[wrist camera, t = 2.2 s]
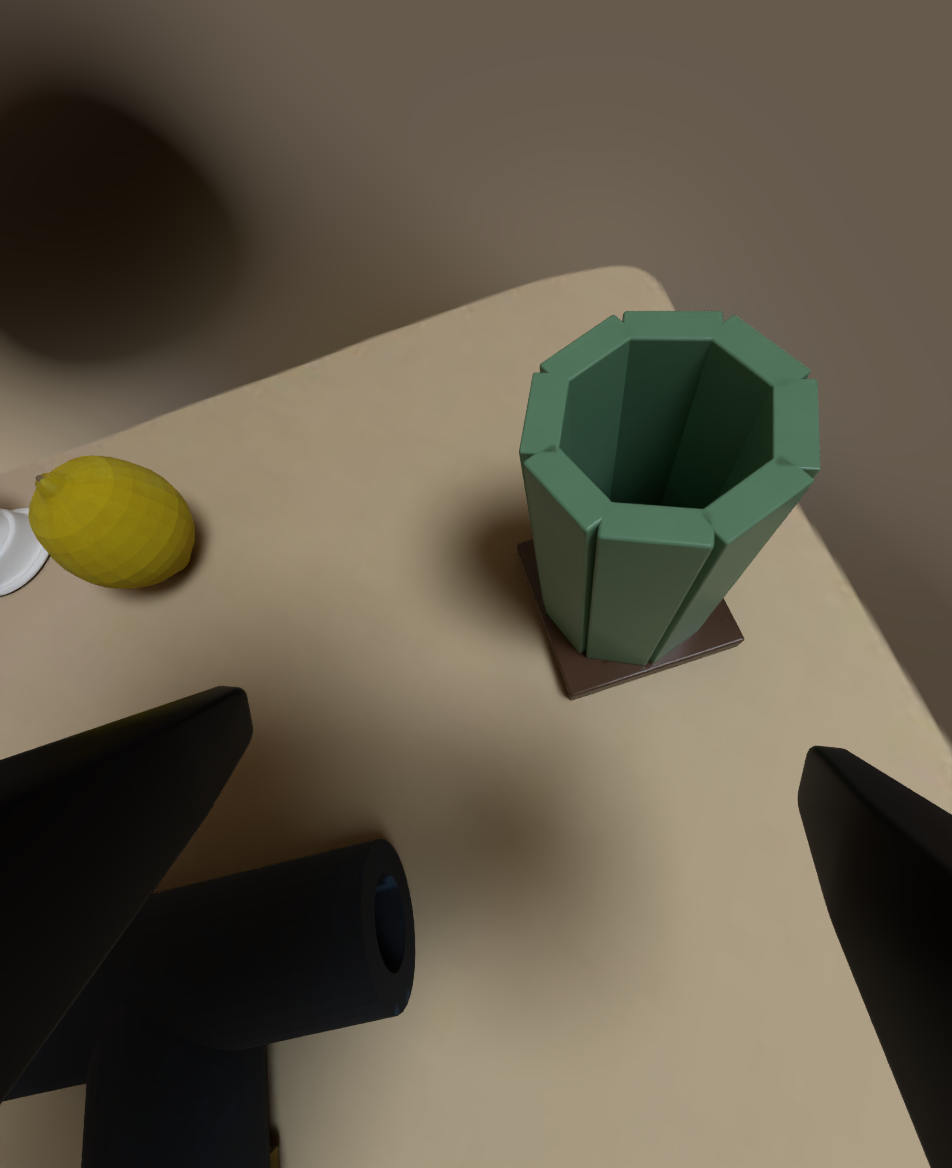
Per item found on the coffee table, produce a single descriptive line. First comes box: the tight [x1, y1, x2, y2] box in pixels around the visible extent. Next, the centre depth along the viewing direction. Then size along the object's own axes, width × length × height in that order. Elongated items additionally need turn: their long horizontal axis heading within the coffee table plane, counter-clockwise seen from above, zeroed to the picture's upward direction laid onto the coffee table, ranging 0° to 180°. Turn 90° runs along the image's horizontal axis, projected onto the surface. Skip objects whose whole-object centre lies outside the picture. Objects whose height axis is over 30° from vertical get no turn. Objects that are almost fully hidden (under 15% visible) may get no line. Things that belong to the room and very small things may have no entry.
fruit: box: [28, 456, 195, 589], centre depth 24 cm, size 6×6×8 cm
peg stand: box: [516, 504, 744, 700], centre depth 20 cm, size 7×7×6 cm
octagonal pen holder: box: [519, 311, 820, 666], centre depth 17 cm, size 6×6×11 cm
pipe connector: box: [3, 839, 415, 1168], centre depth 17 cm, size 12×5×15 cm
